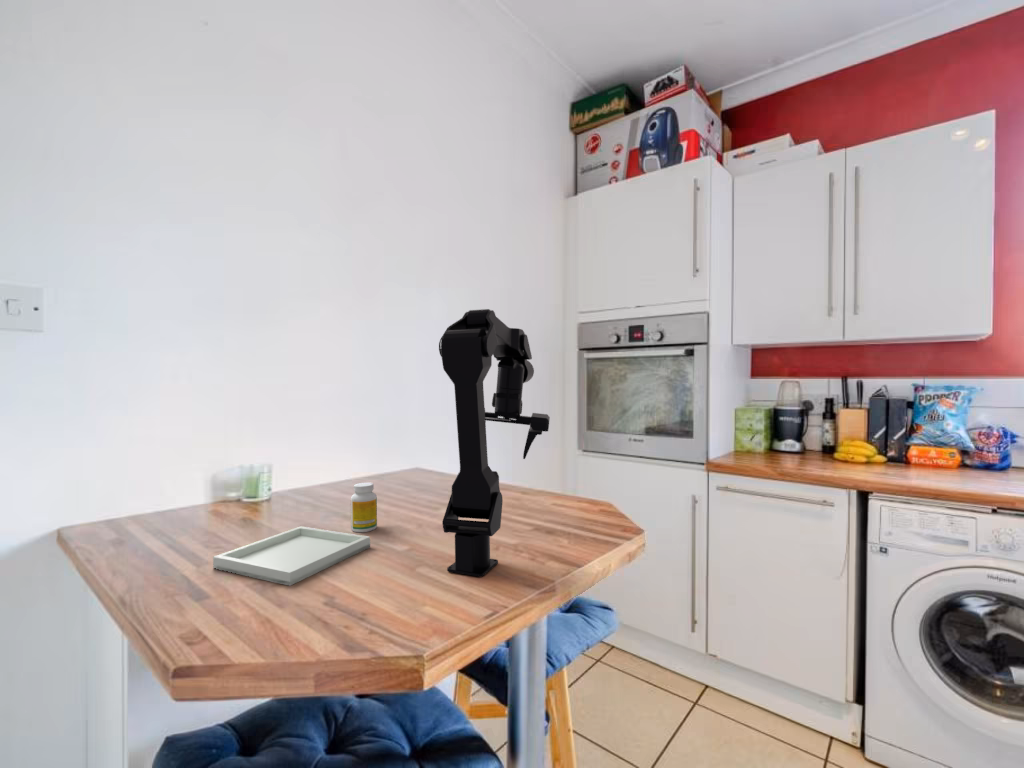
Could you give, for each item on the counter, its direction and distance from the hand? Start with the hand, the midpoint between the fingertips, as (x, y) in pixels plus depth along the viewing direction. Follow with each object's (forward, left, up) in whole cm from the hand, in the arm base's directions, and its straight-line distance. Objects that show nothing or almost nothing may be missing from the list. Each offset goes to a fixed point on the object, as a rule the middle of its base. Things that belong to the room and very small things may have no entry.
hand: (503, 456), depth 102 cm
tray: (-33, +26, -15) cm, 45 cm away
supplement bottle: (-16, +26, -15) cm, 34 cm away
